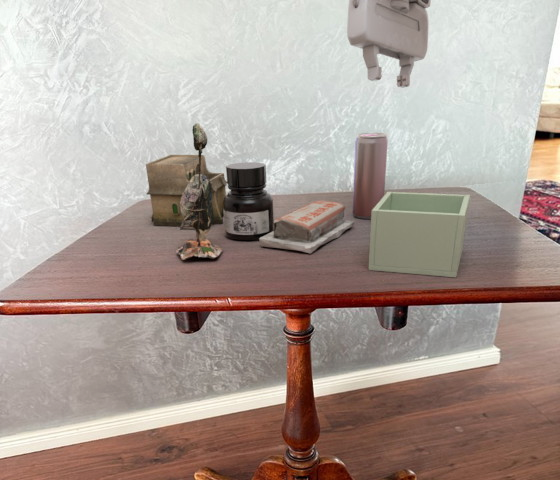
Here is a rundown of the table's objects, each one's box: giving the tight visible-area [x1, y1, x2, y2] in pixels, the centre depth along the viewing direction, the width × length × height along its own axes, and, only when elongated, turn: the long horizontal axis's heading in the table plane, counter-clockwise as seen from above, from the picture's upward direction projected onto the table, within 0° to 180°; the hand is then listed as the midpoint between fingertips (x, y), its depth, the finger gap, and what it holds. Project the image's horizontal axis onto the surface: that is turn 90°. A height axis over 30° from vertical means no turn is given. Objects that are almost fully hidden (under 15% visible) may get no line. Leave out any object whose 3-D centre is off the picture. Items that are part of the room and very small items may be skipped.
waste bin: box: [368, 191, 471, 279], centre depth 82 cm, size 13×13×9 cm
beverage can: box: [352, 132, 389, 220], centre depth 104 cm, size 6×6×15 cm
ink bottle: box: [223, 161, 275, 241], centre depth 96 cm, size 10×9×12 cm
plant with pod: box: [175, 122, 224, 260], centre depth 86 cm, size 8×11×20 cm
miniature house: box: [145, 154, 228, 231], centre depth 107 cm, size 15×14×11 cm
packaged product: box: [258, 200, 356, 254], centre depth 95 cm, size 18×5×10 cm
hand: (389, 83), depth 92 cm, fingers open, 8 cm apart
